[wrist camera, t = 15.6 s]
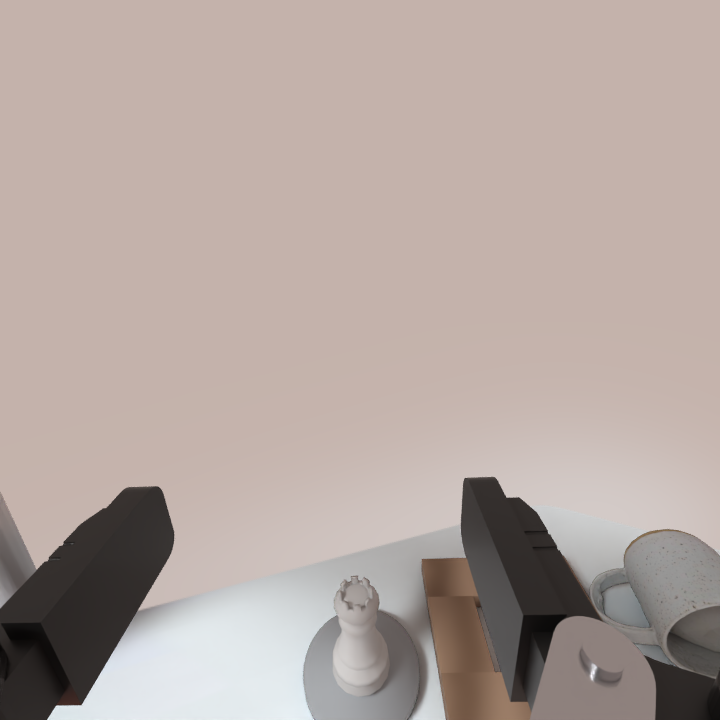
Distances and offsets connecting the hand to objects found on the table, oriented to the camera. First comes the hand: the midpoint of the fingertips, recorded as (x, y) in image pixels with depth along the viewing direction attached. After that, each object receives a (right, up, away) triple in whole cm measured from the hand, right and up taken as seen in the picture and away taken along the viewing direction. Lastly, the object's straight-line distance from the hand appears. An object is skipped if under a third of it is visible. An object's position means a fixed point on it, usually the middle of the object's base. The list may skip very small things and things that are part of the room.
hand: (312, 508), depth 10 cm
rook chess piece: (+1, -20, +19) cm, 28 cm away
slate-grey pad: (+1, -21, +19) cm, 28 cm away
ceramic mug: (+27, -19, +21) cm, 39 cm away
